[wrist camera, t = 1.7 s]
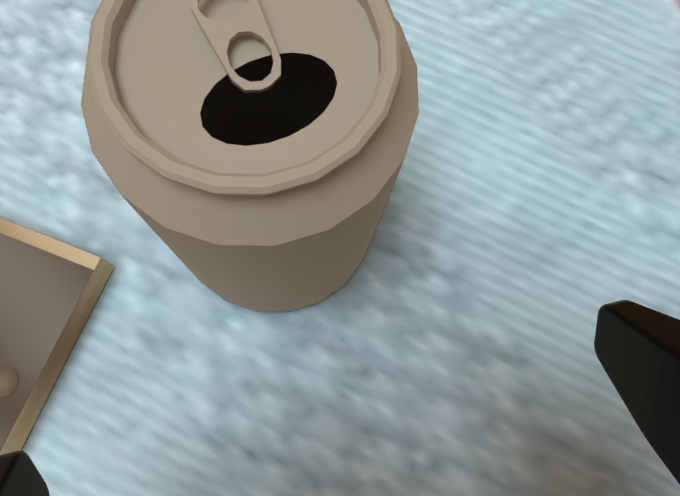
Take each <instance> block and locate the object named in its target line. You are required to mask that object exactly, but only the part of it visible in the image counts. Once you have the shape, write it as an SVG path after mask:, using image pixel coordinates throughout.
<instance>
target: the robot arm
mask: <svg viewBox="0 0 680 496" xmlns="http://www.w3.org/2000/svg"><path fill="white" fill-rule="evenodd" d="M594 346H595V352H596V355H597V357H598V359H599V361H600V363H601V364H602V366H603V368H604V369H605V371H606V373H607V374H608V376H609V378H610V379H611V381H612V383H613V385H614V386H615V388H616V390H617V391H618V393H619V395H620V396H621V398H622V400H623V401H624V403H625V405H626V406H627V408H628V410H629V412H630V413H631V415H632V417H633V418H634V420H635V422H636V423H637V425H638V427H639V428H640V430H641V431H642V433H643V434H644V436H645V438H646V439H647V441H648V442H649V443H650V445H651V446H652V448H653V449H654V450H655V452H656V453H657V455H658V456H659V457H660V459H661V460H662V461H663V463H664V464H665V465H666V467H667V468H668V469H669V471H670V472H671V473H672V475H673V476H674V477H675V479H676V480H677V482H678V483H679V484H680V320H679V319H676V318H673V317H671V316H668V315H665V314H663V313H660V312H658V311H655V310H652V309H650V308H647V307H645V306H642V305H639V304H637V303H634V302H631V301H628V300H621V301H617V302H613V303H609V304H605V305H603V306H601V308H600V309H599V312H598V318H597V326H596V333H595V341H594ZM0 496H49V491H48V487H47V485H46V483H45V481H44V480H43V478H42V476H41V475H40V473H39V472H38V470H37V468H36V467H35V465H34V464H33V462H32V460H31V459H30V457H29V456H28V455H27V453H25V452H23V451H14V452H10V453H7V454H3V455H0Z"/></svg>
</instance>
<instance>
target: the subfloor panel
mask: <svg viewBox="0 0 680 496" xmlns="http://www.w3.org/2000/svg"><path fill="white" fill-rule="evenodd" d="M113 268H114V266H112V265H111V264H109V263H108V262H106V261H105V260H103V259H102V258H100V257H98V256H95V255H93V254H90V253H88V252H85V251H83V250H80V249H78V248H75V247H73V246H70V245H68V244H65V243H63V242H60V241H58V240H55V239H53V238H50V237H48V236H45V235H43V234H40V233H38V232H35V231H33V230H30V229H28V228H25V227H23V226H20V225H18V224H15V223H13V222H10V221H8V220H5V219H3V218H0V455H3V454H7V453H10V452H14V451H21V449H22V447H23V445H24V443H25V441H26V439H27V437H28V435H29V433H30V432H31V430H32V428H33V426H34V424H35V422H36V420H37V418H38V416H39V414H40V412H41V410H42V408H43V406H44V404H45V402H46V400H47V398H48V396H49V394H50V392H51V390H52V388H53V386H54V384H55V382H56V380H57V378H58V376H59V374H60V372H61V371H62V369H63V367H64V365H65V363H66V361H67V359H68V357H69V355H70V353H71V351H72V349H73V347H74V345H75V343H76V341H77V339H78V337H79V335H80V333H81V331H82V329H83V327H84V325H85V323H86V321H87V319H88V317H89V315H90V313H91V312H92V310H93V308H94V306H95V304H96V302H97V300H98V298H99V296H100V294H101V292H102V290H103V288H104V286H105V284H106V282H107V280H108V278H109V276H110V274H111V272H112V270H113Z"/></svg>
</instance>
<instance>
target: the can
mask: <svg viewBox="0 0 680 496" xmlns="http://www.w3.org/2000/svg"><path fill="white" fill-rule="evenodd" d="M81 107H82V111H83V115H84V119H85V124H86V128H87V132H88V136H89V140H90V144H91V148H92V152H93V154H94V156H95V157H96V159H97V160H98V161H99V163H100V164H101V166H102V167H103V169H104V170H105V172H106V173H107V175H108V176H109V178H110V179H111V181H112V182H113V184H114V185H115V187H116V188H117V190H118V191H119V193H120V194H121V195H122V197H123V198H124V199H125V200H126V201H127V202H128V203H129V204H130V205H131V206H132V207H133V209H134V210H135V211H136V212H137V213H138V214H139V215H140V216H141V217H142V218H143V219H144V221H145V222H146V223H147V224H148V225H149V226H150V227H151V228H152V229H153V230H154V232H155V233H156V234H157V235H158V236H159V237H160V238H161V239H162V240H163V241H164V242H165V244H166V245H167V246H168V247H169V248H170V249H171V250H172V251H173V252H174V253H175V254H176V256H177V257H178V258H179V259H180V260H181V261H182V262H183V263H184V264H185V265H186V266H187V268H188V269H189V270H190V271H191V272H192V273H193V274H194V275H195V276H196V277H197V278H198V280H199V281H200V282H201V283H203V284H204V285H205V286H207V287H208V288H209V289H211V290H212V291H213V292H215V293H216V294H217V295H219V296H220V297H221V298H223V299H224V300H225V301H227V302H230V303H233V304H236V305H239V306H242V307H245V308H248V309H251V310H254V311H279V312H289V311H293V310H296V309H299V308H302V307H305V306H309V305H312V304H315V303H318V302H321V301H322V300H323V299H325V298H326V297H328V296H329V295H330V294H332V293H333V292H335V291H336V290H337V289H339V288H340V287H342V286H343V285H344V284H346V283H347V281H348V280H349V278H350V277H351V276H352V274H353V273H354V272H355V270H356V269H357V268H358V266H359V265H360V264H361V262H362V261H363V259H364V257H365V255H366V252H367V250H368V247H369V245H370V242H371V240H372V237H373V235H374V232H375V230H376V227H377V225H378V223H379V220H380V218H381V215H382V213H383V210H384V208H385V205H386V203H387V200H388V198H389V195H390V193H391V190H392V188H393V185H394V183H395V180H396V178H397V175H398V173H399V170H400V168H401V165H402V163H403V160H404V158H405V154H406V151H407V148H408V145H409V142H410V139H411V135H412V132H413V129H414V126H415V123H416V120H417V117H418V113H419V109H418V84H417V66H416V63H415V61H414V58H413V56H412V53H411V51H410V48H409V46H408V43H407V41H406V38H405V36H404V33H403V31H402V28H401V26H400V23H399V22H398V21H397V20H396V19H395V17H394V15H393V13H392V10H391V7H390V5H389V2H388V0H102V1H101V3H100V5H99V7H98V9H97V11H96V13H95V15H94V17H93V19H92V21H91V28H90V36H89V45H88V53H87V59H86V67H85V76H84V84H83V92H82V100H81Z"/></svg>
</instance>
